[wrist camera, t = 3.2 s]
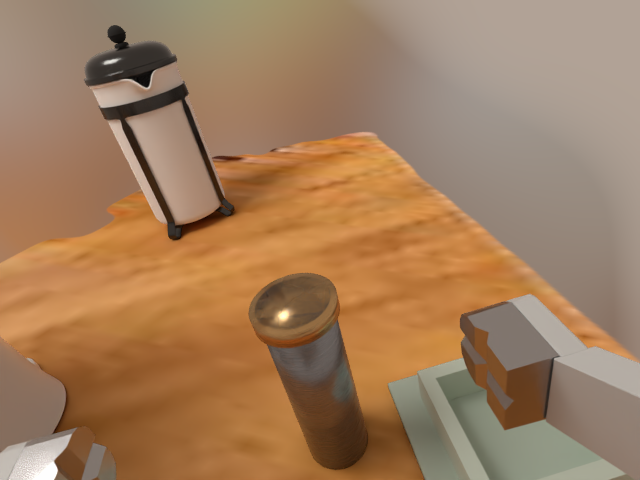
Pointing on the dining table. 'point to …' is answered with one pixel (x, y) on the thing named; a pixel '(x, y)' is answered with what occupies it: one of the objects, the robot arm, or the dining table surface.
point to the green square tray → (483, 434)
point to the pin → (312, 364)
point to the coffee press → (157, 130)
